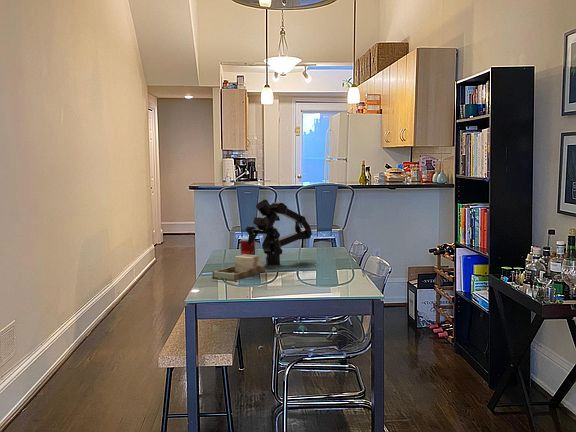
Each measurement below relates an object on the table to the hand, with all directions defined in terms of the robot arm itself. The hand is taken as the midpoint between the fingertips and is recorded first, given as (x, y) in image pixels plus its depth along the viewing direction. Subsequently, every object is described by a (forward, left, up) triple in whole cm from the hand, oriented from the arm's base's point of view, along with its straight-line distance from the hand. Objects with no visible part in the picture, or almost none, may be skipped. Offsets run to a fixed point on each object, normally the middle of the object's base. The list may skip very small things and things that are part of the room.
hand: (255, 245), depth 284 cm
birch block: (+6, +5, -12) cm, 14 cm away
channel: (+11, +9, -13) cm, 19 cm away
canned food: (-7, -36, -13) cm, 39 cm away
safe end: (+16, +12, -13) cm, 24 cm away
